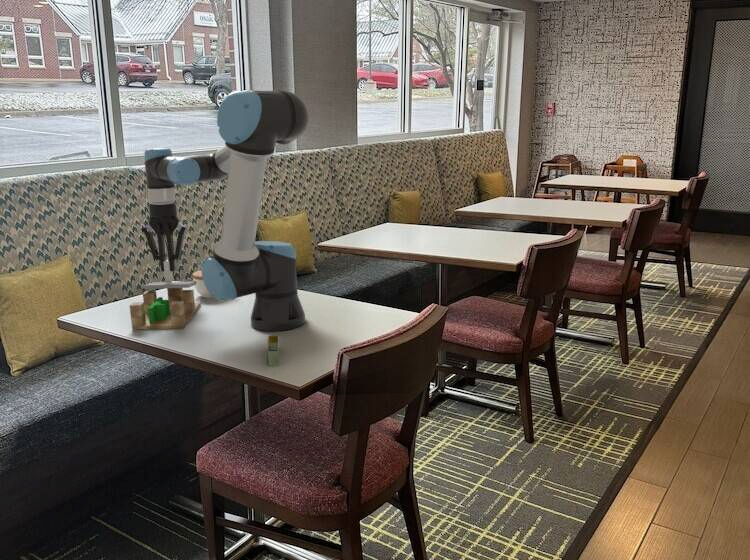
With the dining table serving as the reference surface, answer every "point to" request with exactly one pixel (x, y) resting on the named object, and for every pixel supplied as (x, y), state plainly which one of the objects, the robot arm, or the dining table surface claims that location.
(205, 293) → the lidded jar
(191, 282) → the plate
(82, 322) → the dining table surface
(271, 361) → the medication box
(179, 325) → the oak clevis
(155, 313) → the pipe clamp
